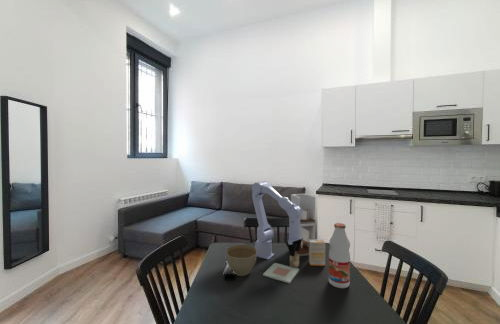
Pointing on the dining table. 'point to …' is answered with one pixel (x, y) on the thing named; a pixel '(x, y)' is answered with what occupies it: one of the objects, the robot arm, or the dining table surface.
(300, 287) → the dining table surface
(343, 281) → the fruit juice
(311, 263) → the supplement box
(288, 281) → the sage board
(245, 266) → the planter bowl
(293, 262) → the maple block
